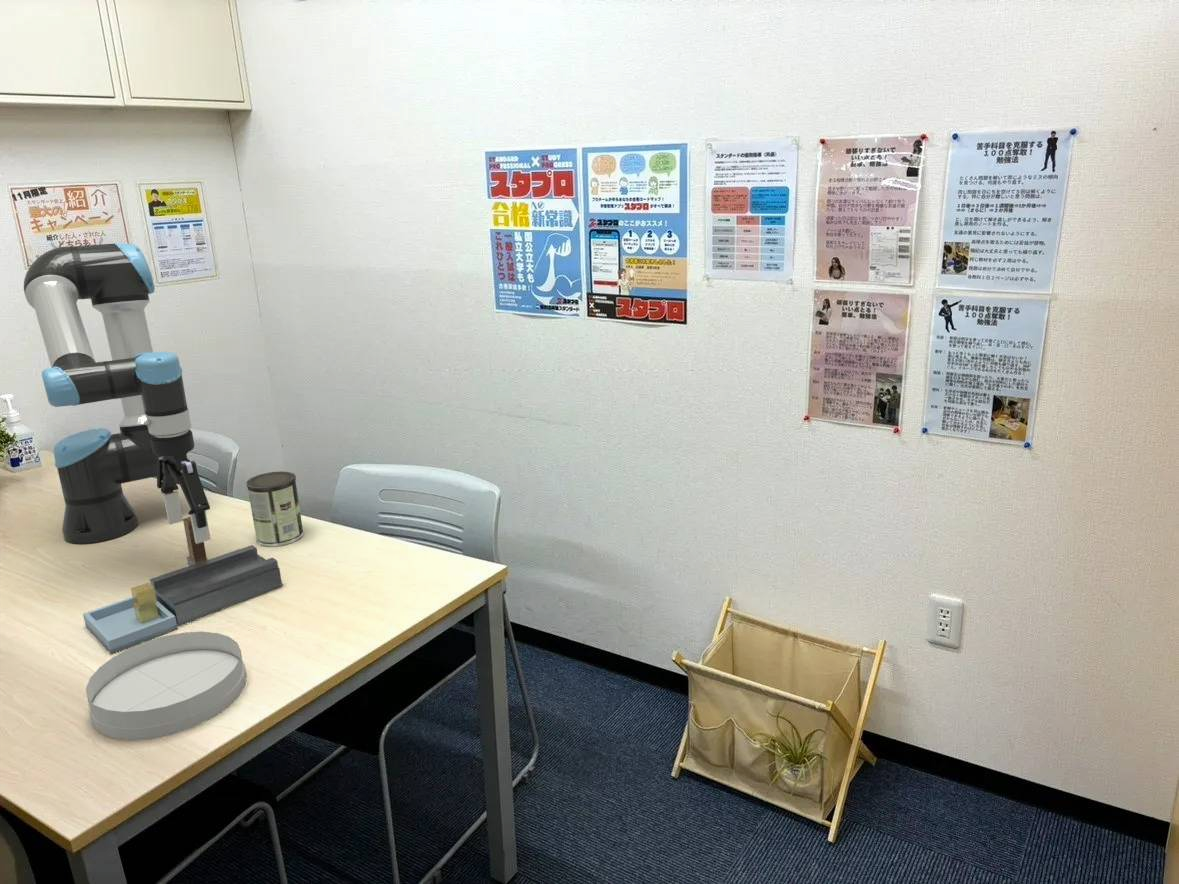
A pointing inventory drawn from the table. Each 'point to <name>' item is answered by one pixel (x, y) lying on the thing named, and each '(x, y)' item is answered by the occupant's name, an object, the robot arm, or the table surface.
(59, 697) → the table surface
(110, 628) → the tray
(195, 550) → the hammer
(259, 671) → the table surface
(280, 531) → the coffee can
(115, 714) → the dish
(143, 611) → the yellow wooden cube
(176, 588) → the slot bed
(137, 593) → the yellow cube
